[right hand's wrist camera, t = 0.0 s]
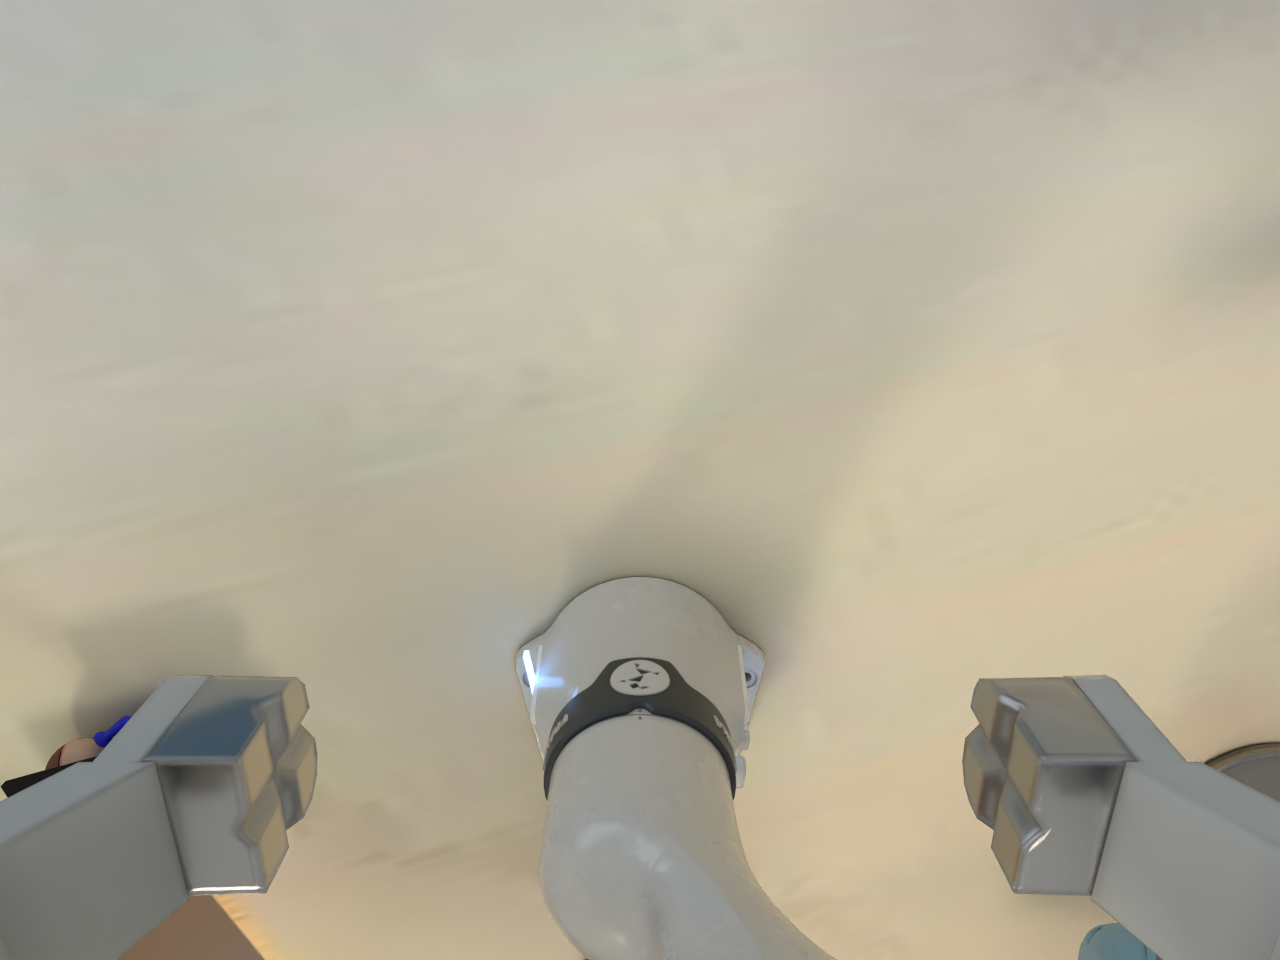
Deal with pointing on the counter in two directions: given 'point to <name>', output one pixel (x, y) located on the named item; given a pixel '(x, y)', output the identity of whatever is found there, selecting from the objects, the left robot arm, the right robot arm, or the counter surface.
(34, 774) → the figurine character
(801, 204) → the counter surface
